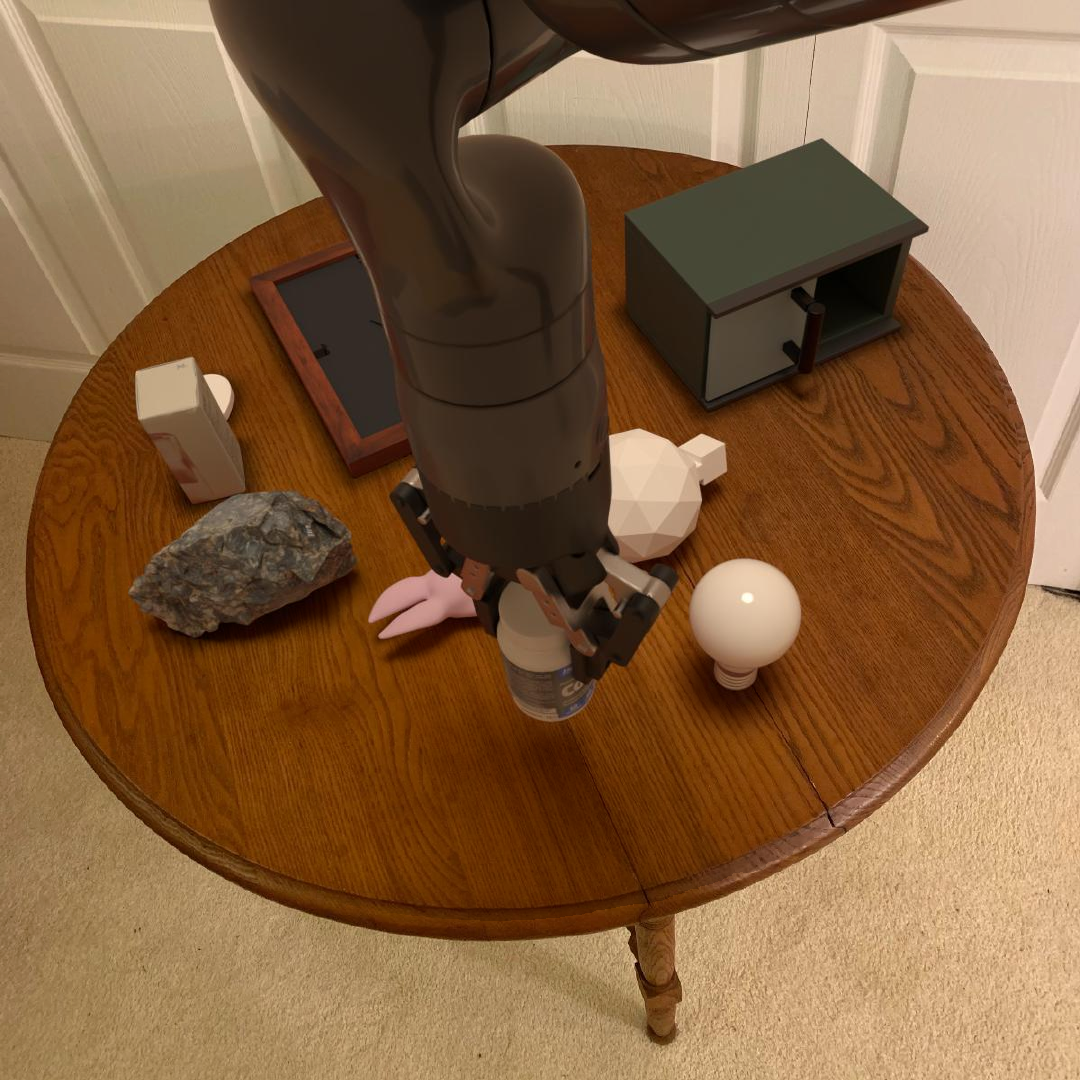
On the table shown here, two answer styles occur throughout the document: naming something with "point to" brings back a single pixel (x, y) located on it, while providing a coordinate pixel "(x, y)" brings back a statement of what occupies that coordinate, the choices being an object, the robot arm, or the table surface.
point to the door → (764, 339)
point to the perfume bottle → (658, 490)
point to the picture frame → (338, 351)
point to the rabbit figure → (440, 604)
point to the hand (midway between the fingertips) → (546, 644)
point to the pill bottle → (537, 659)
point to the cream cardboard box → (189, 430)
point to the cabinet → (767, 257)
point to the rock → (244, 562)
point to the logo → (221, 392)
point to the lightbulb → (744, 618)
